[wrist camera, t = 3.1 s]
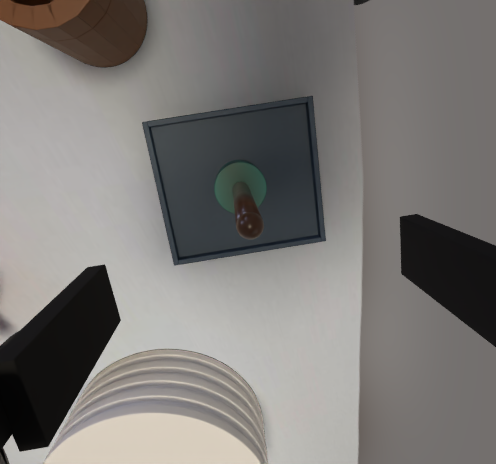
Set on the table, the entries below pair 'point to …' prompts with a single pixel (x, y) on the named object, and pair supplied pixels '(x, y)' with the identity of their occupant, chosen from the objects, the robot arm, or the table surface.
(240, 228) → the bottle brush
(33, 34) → the wooden jar
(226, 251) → the tray
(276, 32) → the table surface
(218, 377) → the plate stack
